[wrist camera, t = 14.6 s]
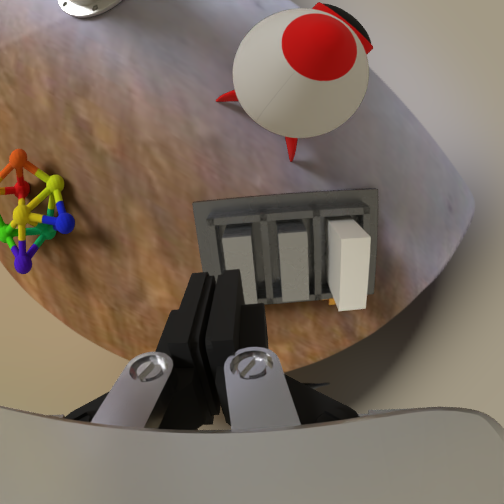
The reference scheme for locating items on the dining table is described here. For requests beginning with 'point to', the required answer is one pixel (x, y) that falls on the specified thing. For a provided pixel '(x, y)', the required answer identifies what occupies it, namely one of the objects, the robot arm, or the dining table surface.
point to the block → (347, 262)
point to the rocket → (302, 72)
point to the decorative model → (22, 212)
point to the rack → (280, 240)
